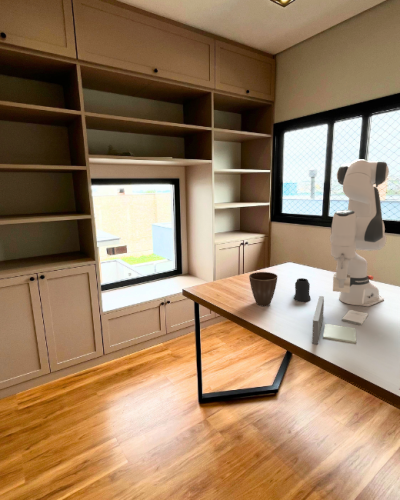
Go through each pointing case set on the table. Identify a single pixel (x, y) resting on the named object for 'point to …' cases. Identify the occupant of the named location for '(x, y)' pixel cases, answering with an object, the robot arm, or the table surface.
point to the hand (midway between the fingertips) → (341, 284)
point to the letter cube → (346, 284)
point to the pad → (339, 333)
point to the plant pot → (263, 287)
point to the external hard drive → (355, 317)
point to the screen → (318, 320)
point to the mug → (302, 290)
